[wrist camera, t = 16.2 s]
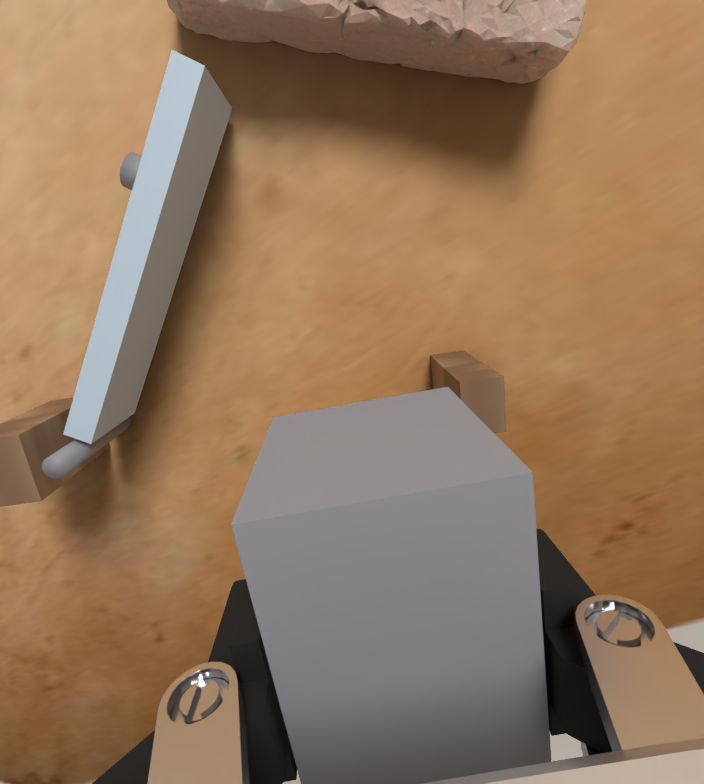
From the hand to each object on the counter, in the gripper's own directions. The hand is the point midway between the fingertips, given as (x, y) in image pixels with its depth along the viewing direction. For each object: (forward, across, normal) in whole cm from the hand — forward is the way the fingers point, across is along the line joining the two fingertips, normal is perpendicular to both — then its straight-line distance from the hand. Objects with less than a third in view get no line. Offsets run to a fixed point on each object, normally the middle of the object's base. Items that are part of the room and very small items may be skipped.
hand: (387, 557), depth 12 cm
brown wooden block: (+14, +15, -2) cm, 20 cm away
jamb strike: (+14, -5, -1) cm, 14 cm away
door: (+13, +9, -8) cm, 18 cm away
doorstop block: (+1, 0, 0) cm, 1 cm away
